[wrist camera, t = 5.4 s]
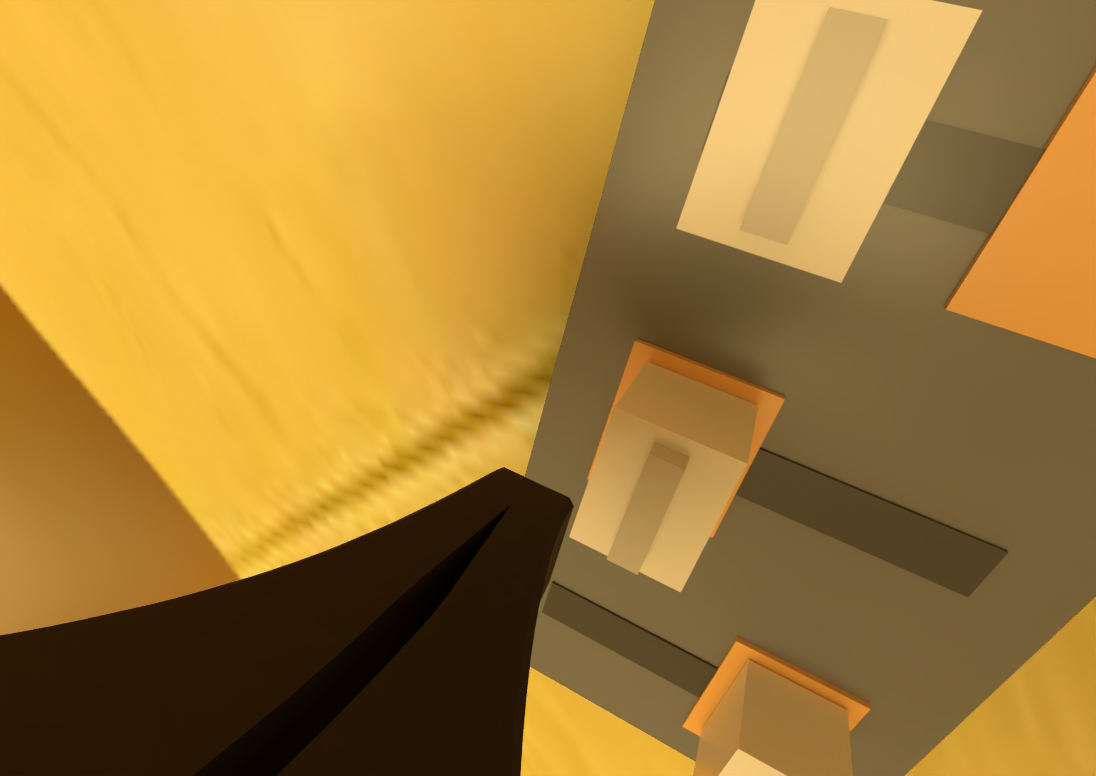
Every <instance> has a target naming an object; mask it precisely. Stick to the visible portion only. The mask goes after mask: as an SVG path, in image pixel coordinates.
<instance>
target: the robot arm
mask: <svg viewBox="0 0 1096 776" xmlns="http://www.w3.org/2000/svg"><path fill="white" fill-rule="evenodd" d="M573 507H574V505H573V503H572V501H571V499H570V498H569V497H567V496H565V495H563V494H561V493H559V492H556V491H554V490H552V489H550V488H548V487H546V486H543V485H541V484H539V483H537V482H535V481H533V480H530V479H528V478H526V477H524V476H522V475H520V474H517V473H515V472H513V471H511V470H509V469H507V468H505V467H503V468H501V469H498V470H496V471H494V472H492V473H490V474H488V475H486V476H484V477H482V478H481V479H479V480H477V481H475V482H473V483H471V484H469V485H468V486H466V487H464V488H462V489H460V490H458V491H456V492H454V493H452V494H450V495H448V496H446V497H444V498H442V499H441V500H439V501H437V502H435V503H433V504H430V505H428V506H426V507H424V508H422V509H420V510H418V511H416V512H414V513H412V514H410V515H408V516H406V517H403V518H401V519H399V520H397V521H395V522H393V523H391V524H388V525H386V526H384V527H382V528H379V529H377V530H374V531H372V532H370V533H367V534H365V535H363V536H360V537H358V538H356V539H353V540H351V541H348V542H346V543H344V544H341V545H339V546H337V547H334V548H331V549H329V550H326V551H324V552H321V553H318V554H316V555H313V556H310V557H308V558H305V559H302V560H299V561H297V562H294V563H291V564H288V565H285V566H282V567H279V568H276V569H273V570H270V571H267V572H264V573H261V574H258V575H255V576H252V577H248V578H245V579H242V580H238V581H235V582H231V583H228V584H225V585H221V586H218V587H215V588H211V589H208V590H204V591H201V592H197V593H193V594H190V595H186V596H182V597H178V598H175V599H171V600H167V601H164V602H159V603H155V604H151V605H146V606H142V607H137V608H133V609H129V610H124V611H119V612H115V613H111V614H106V615H102V616H98V617H93V618H88V619H84V620H79V621H74V622H69V623H64V624H60V625H55V626H50V627H45V628H39V629H34V630H29V631H23V632H18V633H12V634H7V635H0V776H520V773H521V757H522V742H523V729H524V717H525V706H526V695H527V686H528V677H529V669H530V661H531V654H532V647H533V640H534V633H535V627H536V621H537V616H538V610H539V605H540V601H541V599H542V597H543V595H544V592H545V590H546V588H547V586H548V584H549V582H550V579H551V576H552V572H553V569H554V566H555V563H556V560H557V557H558V554H559V551H560V548H561V545H562V542H563V538H564V535H565V532H566V529H567V526H568V523H569V520H570V517H571V514H572V511H573Z"/></svg>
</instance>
